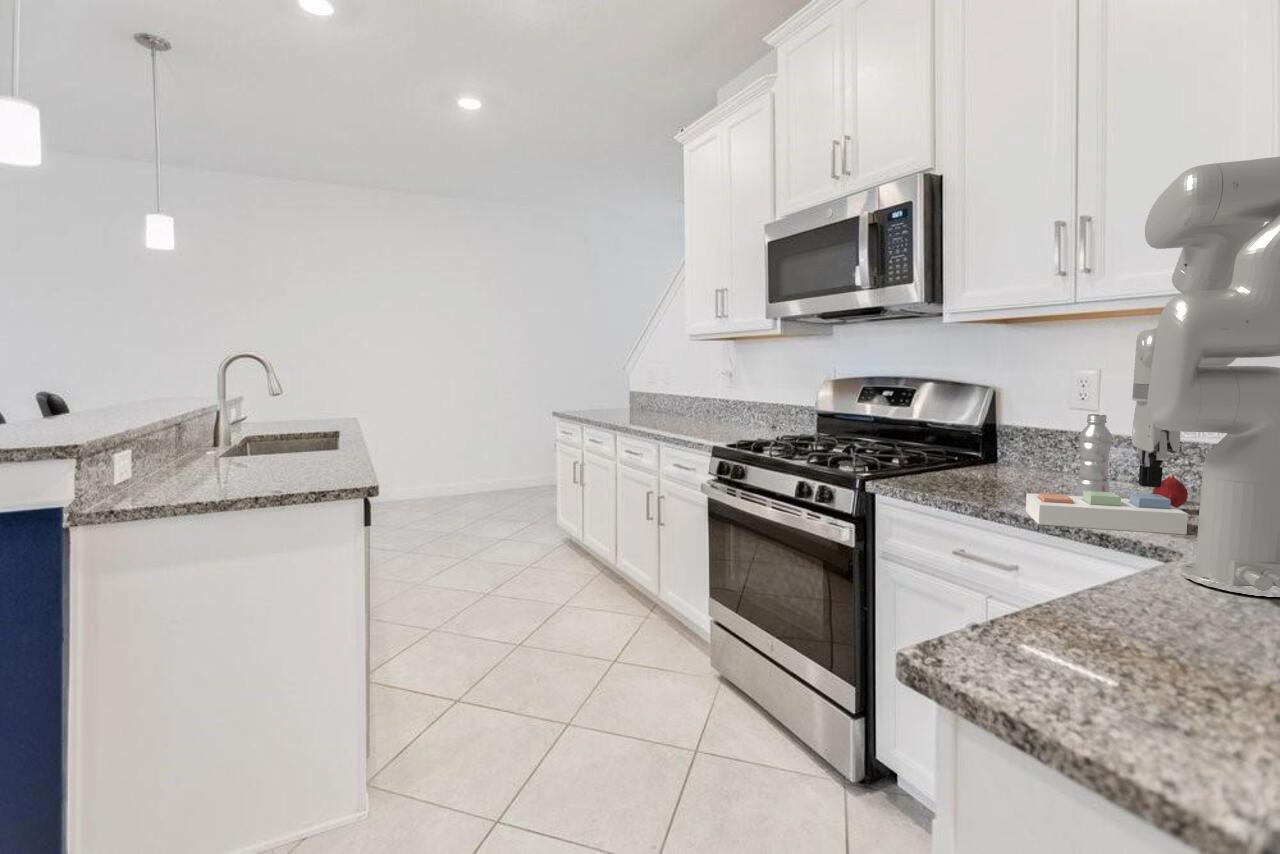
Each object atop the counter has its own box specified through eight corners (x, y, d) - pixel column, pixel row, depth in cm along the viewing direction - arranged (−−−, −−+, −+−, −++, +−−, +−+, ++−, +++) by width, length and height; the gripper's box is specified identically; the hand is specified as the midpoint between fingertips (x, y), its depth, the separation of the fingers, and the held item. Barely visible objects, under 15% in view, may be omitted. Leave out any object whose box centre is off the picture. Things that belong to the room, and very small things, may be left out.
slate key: (1169, 516, 124) (1170, 499, 123) (1138, 514, 125) (1139, 498, 125) (1158, 510, 128) (1160, 494, 128) (1128, 508, 130) (1129, 493, 130)
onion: (1192, 514, 136) (1195, 477, 135) (1161, 513, 137) (1164, 476, 136) (1175, 508, 141) (1178, 472, 140) (1146, 507, 142) (1148, 471, 141)
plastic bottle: (1081, 502, 148) (1086, 415, 146) (1071, 496, 155) (1075, 413, 153) (1113, 503, 146) (1119, 416, 144) (1102, 497, 153) (1107, 413, 151)
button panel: (1186, 534, 120) (1187, 513, 120) (1038, 524, 128) (1039, 504, 128) (1159, 519, 131) (1161, 500, 131) (1025, 511, 140) (1026, 493, 139)
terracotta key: (1072, 515, 129) (1073, 499, 129) (1043, 513, 131) (1044, 498, 131) (1065, 510, 134) (1066, 494, 134) (1037, 508, 136) (1038, 493, 135)
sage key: (1119, 513, 126) (1121, 497, 126) (1090, 511, 128) (1091, 495, 128) (1111, 507, 131) (1112, 492, 131) (1082, 506, 133) (1083, 490, 132)
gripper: (1198, 396, 116) (1190, 495, 119) (1164, 391, 130) (1157, 479, 132) (1148, 396, 119) (1141, 493, 121) (1120, 390, 133) (1113, 477, 135)
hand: (1149, 485), depth 127 cm, fingers closed
